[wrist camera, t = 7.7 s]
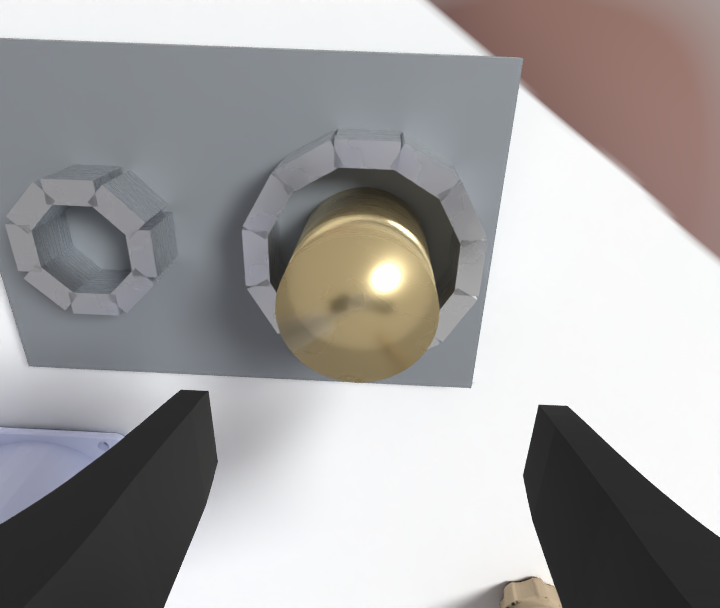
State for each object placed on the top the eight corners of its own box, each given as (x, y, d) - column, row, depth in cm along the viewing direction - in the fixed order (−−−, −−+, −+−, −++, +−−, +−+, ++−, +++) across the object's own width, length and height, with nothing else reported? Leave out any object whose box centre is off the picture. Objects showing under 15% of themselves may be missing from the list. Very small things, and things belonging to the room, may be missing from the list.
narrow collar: (61, 286, 20) (29, 311, 18) (30, 162, 18) (-10, 176, 16) (183, 292, 20) (163, 317, 18) (166, 168, 17) (142, 183, 16)
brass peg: (304, 302, 20) (279, 380, 15) (299, 185, 18) (270, 234, 13) (422, 306, 19) (432, 385, 15) (430, 188, 17) (446, 238, 13)
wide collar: (262, 330, 20) (251, 359, 18) (250, 124, 17) (234, 134, 15) (460, 340, 20) (468, 369, 18) (489, 134, 17) (501, 145, 15)
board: (43, 352, 22) (29, 366, 21) (-48, 36, 17) (-72, 36, 16) (467, 373, 22) (471, 388, 21) (515, 57, 16) (523, 58, 16)
